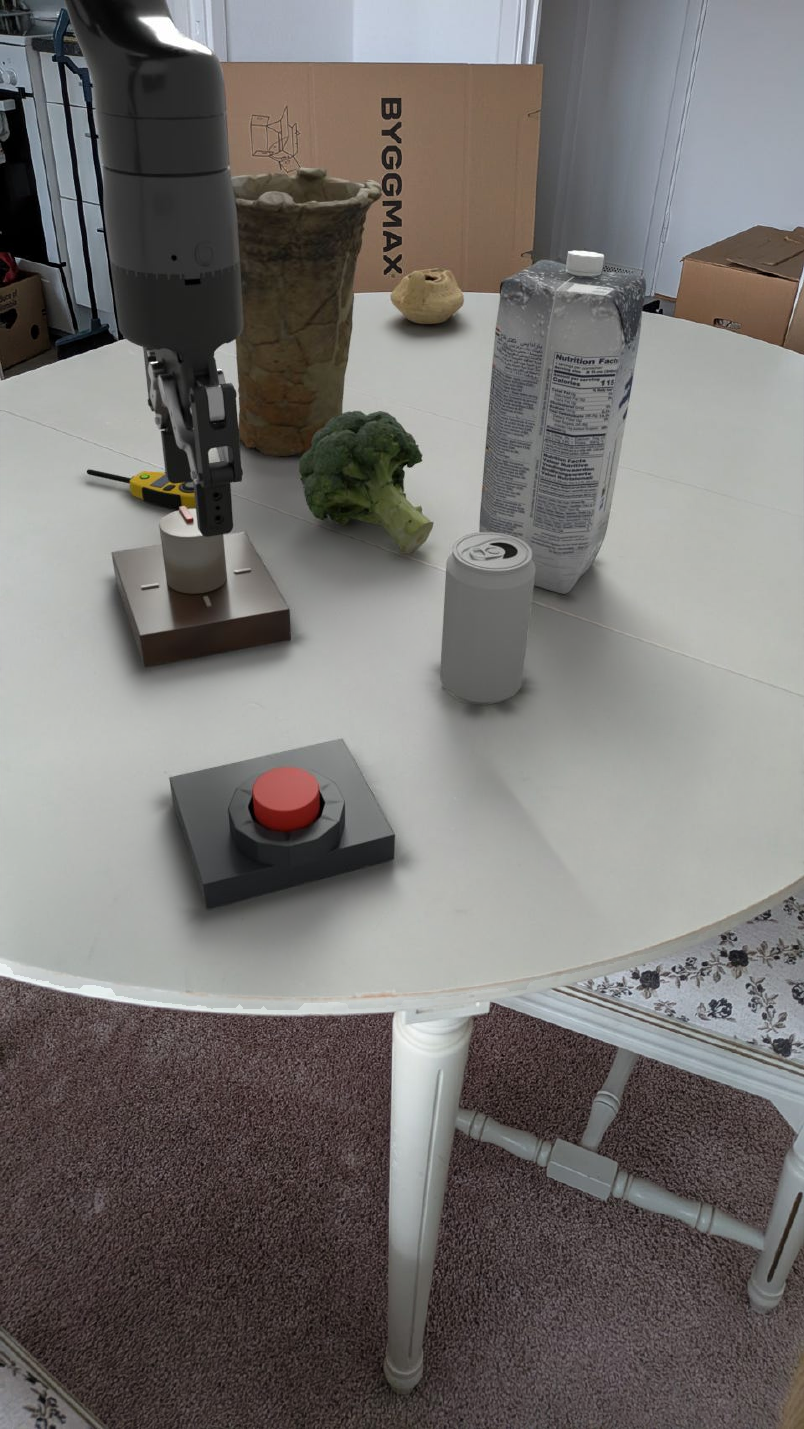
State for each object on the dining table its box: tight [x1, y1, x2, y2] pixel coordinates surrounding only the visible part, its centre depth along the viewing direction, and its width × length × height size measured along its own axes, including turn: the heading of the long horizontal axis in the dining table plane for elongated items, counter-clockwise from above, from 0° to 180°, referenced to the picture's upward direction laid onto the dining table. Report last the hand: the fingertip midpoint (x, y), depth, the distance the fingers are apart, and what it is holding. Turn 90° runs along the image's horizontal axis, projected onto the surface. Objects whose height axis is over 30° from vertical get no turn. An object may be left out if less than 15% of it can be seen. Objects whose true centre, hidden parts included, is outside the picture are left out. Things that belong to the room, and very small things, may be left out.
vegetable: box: [298, 410, 435, 556], centre depth 95 cm, size 12×13×15 cm
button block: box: [168, 738, 396, 910], centre depth 63 cm, size 12×10×4 cm
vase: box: [231, 166, 383, 458], centre depth 107 cm, size 18×18×27 cm
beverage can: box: [439, 531, 535, 706], centre depth 74 cm, size 6×6×12 cm
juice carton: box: [478, 250, 647, 595], centre depth 84 cm, size 9×10×27 cm
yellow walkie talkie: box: [86, 468, 196, 510], centre depth 102 cm, size 5×2×15 cm
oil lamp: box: [390, 267, 465, 325], centre depth 150 cm, size 11×15×8 cm
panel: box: [111, 531, 292, 668], centre depth 84 cm, size 12×14×3 cm
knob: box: [158, 506, 227, 594], centre depth 82 cm, size 5×5×6 cm
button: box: [252, 767, 320, 832], centre depth 60 cm, size 4×4×2 cm
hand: (198, 505), depth 68 cm, fingers open, 8 cm apart
